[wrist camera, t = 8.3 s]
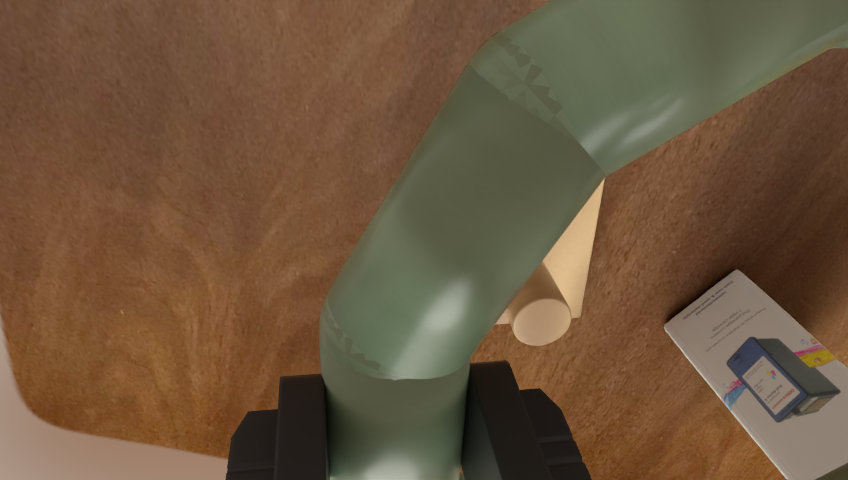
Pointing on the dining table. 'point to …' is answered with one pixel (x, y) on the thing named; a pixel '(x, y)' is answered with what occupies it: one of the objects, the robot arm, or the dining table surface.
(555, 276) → the post
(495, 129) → the ring
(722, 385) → the ink box
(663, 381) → the dining table surface
